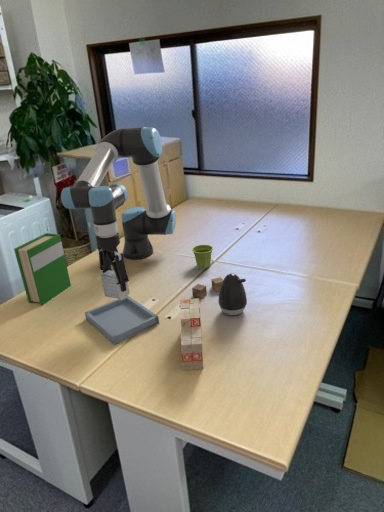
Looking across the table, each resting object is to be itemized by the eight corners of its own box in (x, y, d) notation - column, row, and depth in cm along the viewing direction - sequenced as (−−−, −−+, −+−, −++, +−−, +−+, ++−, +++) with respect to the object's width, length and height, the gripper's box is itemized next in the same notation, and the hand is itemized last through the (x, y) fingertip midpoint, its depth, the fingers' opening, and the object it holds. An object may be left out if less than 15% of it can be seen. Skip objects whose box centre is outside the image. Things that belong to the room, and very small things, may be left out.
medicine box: (130, 294, 142) (126, 272, 139) (123, 300, 138) (119, 278, 135) (111, 291, 145) (108, 269, 142) (104, 296, 142) (100, 274, 138)
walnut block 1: (192, 296, 159) (192, 287, 158) (198, 292, 162) (197, 283, 161) (201, 299, 157) (200, 290, 155) (206, 294, 160) (206, 286, 158)
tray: (86, 319, 149) (84, 312, 148) (127, 301, 159) (126, 294, 158) (114, 344, 133) (113, 337, 132) (159, 323, 143) (158, 316, 142)
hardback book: (42, 305, 162) (28, 250, 152) (28, 302, 165) (13, 248, 155) (71, 285, 176) (59, 234, 167) (57, 283, 179) (46, 233, 169)
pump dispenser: (240, 322, 140) (238, 283, 134) (214, 315, 146) (211, 277, 140) (252, 308, 148) (251, 271, 142) (227, 302, 153) (225, 266, 147)
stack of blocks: (203, 369, 119) (201, 334, 114) (182, 371, 119) (179, 336, 114) (201, 328, 139) (199, 297, 134) (183, 330, 139) (180, 298, 134)
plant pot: (212, 270, 179) (211, 252, 176) (191, 270, 182) (190, 252, 178) (215, 261, 188) (214, 244, 184) (195, 261, 190) (194, 244, 186)
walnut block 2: (211, 287, 165) (211, 279, 163) (220, 285, 166) (220, 277, 164) (215, 292, 162) (215, 283, 160) (224, 289, 163) (224, 281, 161)
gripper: (82, 229, 139) (93, 287, 148) (112, 245, 123) (123, 309, 132) (102, 224, 143) (112, 280, 152) (133, 238, 127) (142, 300, 136)
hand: (117, 293), depth 142 cm, fingers closed on medicine box, 9 cm apart
